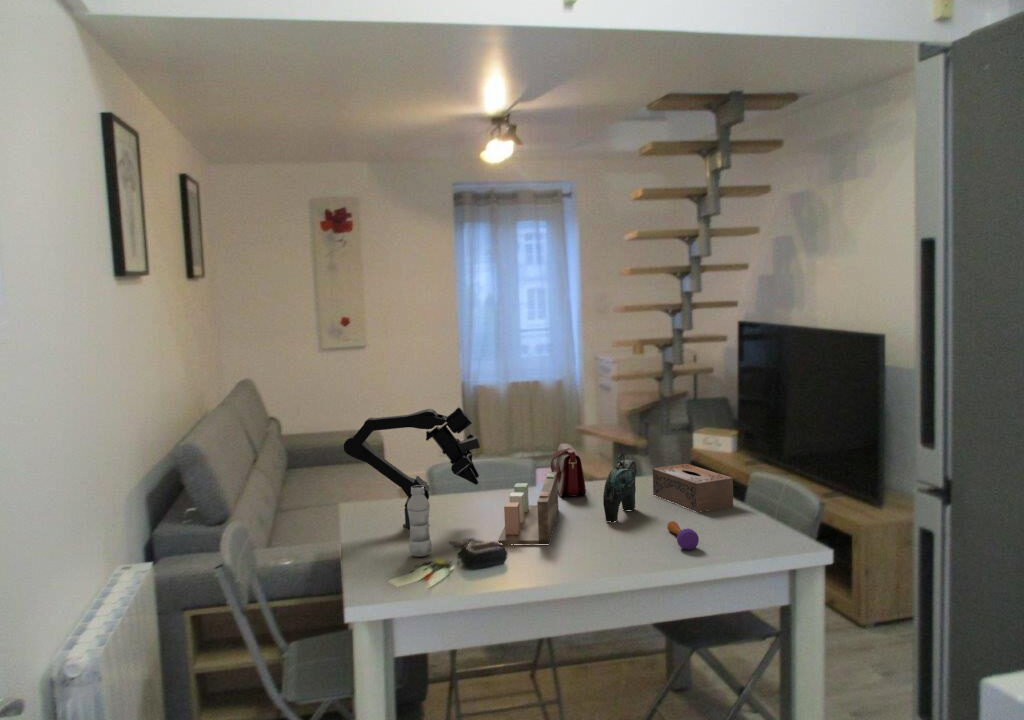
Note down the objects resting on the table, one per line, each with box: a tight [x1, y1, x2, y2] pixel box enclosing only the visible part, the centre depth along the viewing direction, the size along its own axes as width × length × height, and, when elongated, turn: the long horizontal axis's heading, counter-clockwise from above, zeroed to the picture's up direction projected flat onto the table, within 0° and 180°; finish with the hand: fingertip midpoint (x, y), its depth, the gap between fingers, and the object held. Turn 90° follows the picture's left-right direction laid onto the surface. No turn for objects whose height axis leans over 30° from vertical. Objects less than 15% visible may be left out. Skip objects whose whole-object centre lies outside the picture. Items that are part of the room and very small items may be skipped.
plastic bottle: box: [407, 485, 433, 558], centre depth 227 cm, size 6×7×20 cm
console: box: [497, 471, 559, 546], centre depth 252 cm, size 15×38×14 cm, turn 173°
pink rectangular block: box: [503, 502, 520, 535], centre depth 240 cm, size 4×5×8 cm
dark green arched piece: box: [602, 453, 637, 522], centre depth 259 cm, size 20×6×20 cm, turn 149°
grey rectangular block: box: [509, 491, 525, 523], centre depth 252 cm, size 4×5×8 cm
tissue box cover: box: [652, 463, 734, 513], centre depth 274 cm, size 26×14×10 cm, turn 23°
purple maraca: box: [666, 520, 700, 551], centre depth 231 cm, size 6×6×20 cm
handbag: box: [550, 442, 587, 497], centre depth 296 cm, size 28×11×17 cm, turn 3°
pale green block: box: [513, 482, 530, 512], centre depth 264 cm, size 4×5×8 cm
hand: (477, 480), depth 256 cm, fingers open, 9 cm apart
